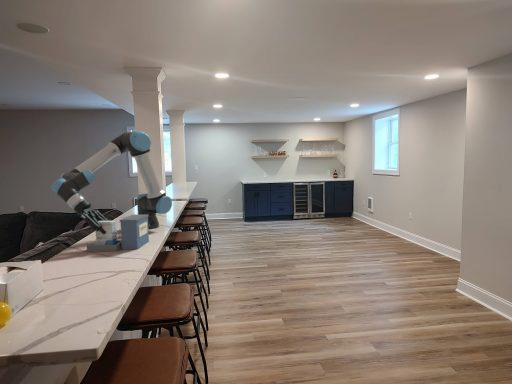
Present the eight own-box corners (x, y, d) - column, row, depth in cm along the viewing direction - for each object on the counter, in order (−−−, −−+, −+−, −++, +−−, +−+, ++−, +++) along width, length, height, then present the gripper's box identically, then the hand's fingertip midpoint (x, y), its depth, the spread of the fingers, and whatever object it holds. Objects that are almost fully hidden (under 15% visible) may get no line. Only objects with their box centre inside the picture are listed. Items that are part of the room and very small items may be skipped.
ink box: (117, 242, 163) (116, 220, 162) (112, 245, 158) (111, 222, 157) (101, 242, 164) (99, 220, 162) (95, 245, 159) (94, 222, 157)
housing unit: (134, 241, 175) (132, 214, 174) (149, 241, 175) (148, 214, 174) (121, 249, 159) (119, 219, 157) (138, 249, 159) (137, 219, 157)
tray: (98, 245, 167) (97, 240, 166) (125, 245, 166) (125, 239, 166) (87, 251, 156) (86, 245, 156) (116, 251, 156) (116, 245, 155)
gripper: (73, 201, 150) (110, 235, 151) (93, 197, 168) (126, 227, 169) (63, 212, 151) (99, 246, 152) (84, 207, 169) (116, 237, 170)
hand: (113, 236), depth 161 cm, fingers closed on ink box, 5 cm apart
